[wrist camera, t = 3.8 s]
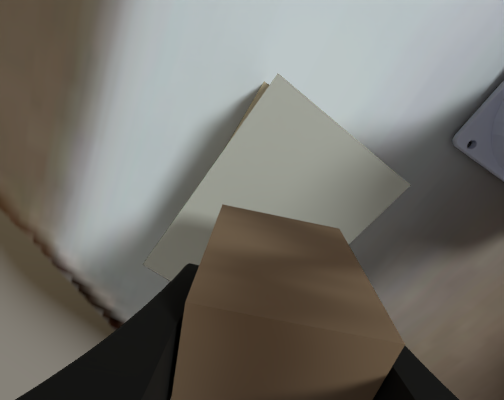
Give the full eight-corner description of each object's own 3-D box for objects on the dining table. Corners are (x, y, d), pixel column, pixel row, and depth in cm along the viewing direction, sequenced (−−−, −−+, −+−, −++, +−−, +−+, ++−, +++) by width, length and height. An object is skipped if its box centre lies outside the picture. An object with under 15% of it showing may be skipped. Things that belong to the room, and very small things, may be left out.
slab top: (387, 171, 15) (410, 185, 12) (257, 302, 19) (257, 332, 16) (275, 77, 13) (277, 73, 11) (159, 241, 17) (142, 264, 15)
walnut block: (339, 228, 10) (405, 344, 5) (306, 317, 12) (333, 464, 7) (222, 204, 10) (185, 302, 5) (205, 297, 11) (166, 435, 7)
